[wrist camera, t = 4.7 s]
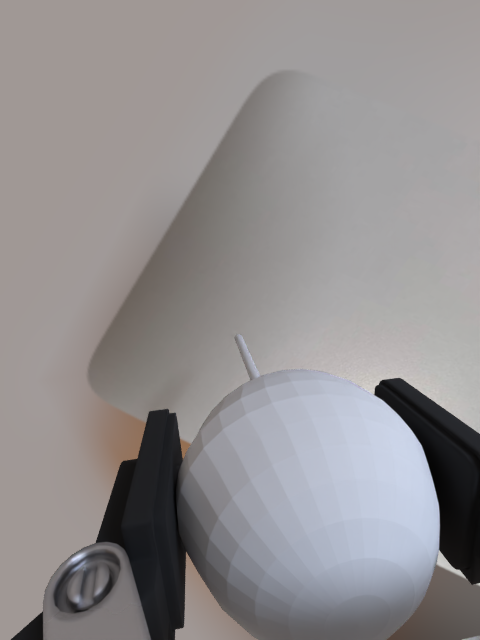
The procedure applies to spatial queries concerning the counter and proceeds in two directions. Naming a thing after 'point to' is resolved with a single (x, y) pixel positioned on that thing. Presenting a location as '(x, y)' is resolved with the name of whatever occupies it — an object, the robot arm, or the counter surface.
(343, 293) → the counter surface
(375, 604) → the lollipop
